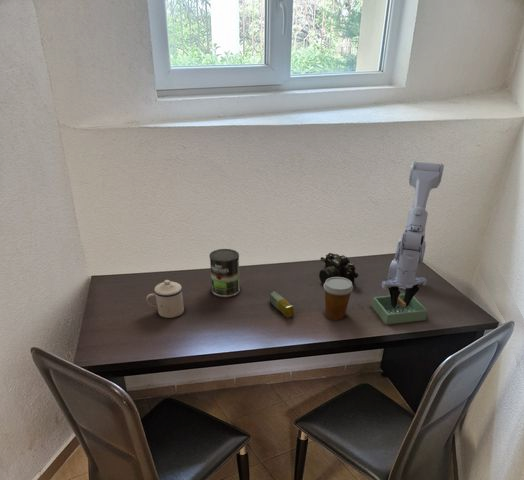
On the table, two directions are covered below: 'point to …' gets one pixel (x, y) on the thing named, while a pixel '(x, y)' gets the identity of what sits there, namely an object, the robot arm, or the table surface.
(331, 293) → the disposable coffee cup
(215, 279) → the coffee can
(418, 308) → the green open tray
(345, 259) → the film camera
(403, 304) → the dish rack
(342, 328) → the table surface
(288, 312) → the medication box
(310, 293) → the table surface
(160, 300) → the teacup with lid
